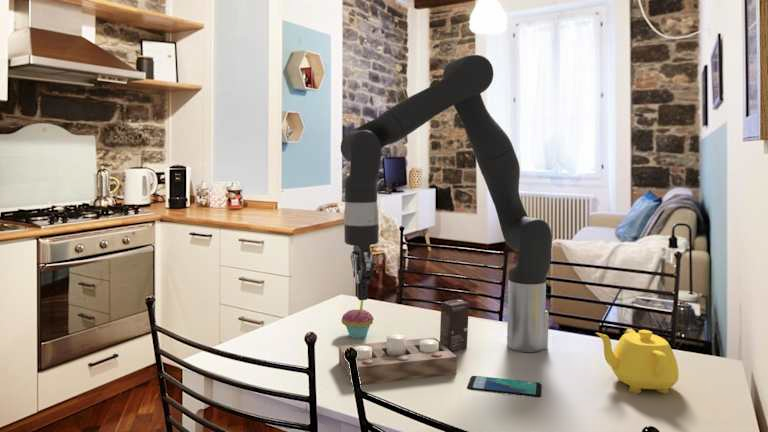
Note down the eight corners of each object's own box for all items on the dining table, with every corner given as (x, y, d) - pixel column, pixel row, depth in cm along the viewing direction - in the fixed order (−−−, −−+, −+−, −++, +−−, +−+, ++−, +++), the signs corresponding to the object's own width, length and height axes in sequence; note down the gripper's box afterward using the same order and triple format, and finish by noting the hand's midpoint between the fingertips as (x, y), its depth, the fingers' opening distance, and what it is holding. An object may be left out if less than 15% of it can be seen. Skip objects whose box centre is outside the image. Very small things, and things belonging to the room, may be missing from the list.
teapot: (620, 367, 129) (622, 317, 128) (687, 385, 119) (690, 331, 118) (593, 384, 119) (595, 330, 118) (663, 405, 109) (667, 346, 108)
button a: (434, 356, 133) (434, 338, 133) (441, 363, 129) (441, 344, 129) (417, 358, 132) (417, 340, 132) (423, 365, 128) (423, 346, 128)
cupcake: (379, 334, 154) (379, 291, 152) (361, 342, 146) (361, 297, 145) (353, 328, 158) (353, 287, 157) (335, 337, 151) (334, 293, 150)
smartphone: (471, 375, 124) (541, 382, 120) (471, 378, 124) (541, 385, 120) (466, 387, 117) (541, 395, 113) (466, 391, 117) (540, 399, 113)
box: (450, 353, 139) (451, 305, 137) (439, 347, 142) (439, 301, 141) (469, 348, 142) (469, 302, 141) (457, 343, 146) (457, 298, 144)
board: (434, 353, 139) (434, 336, 138) (456, 373, 125) (456, 355, 125) (339, 362, 132) (338, 345, 132) (351, 385, 119) (351, 366, 118)
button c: (369, 363, 129) (369, 344, 129) (374, 370, 125) (374, 351, 125) (350, 365, 128) (350, 346, 128) (354, 372, 124) (354, 353, 123)
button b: (402, 351, 131) (402, 333, 131) (408, 358, 127) (408, 339, 126) (384, 353, 130) (384, 335, 130) (389, 360, 126) (389, 341, 125)
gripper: (385, 225, 118) (386, 305, 120) (370, 218, 130) (371, 291, 132) (351, 226, 116) (352, 308, 118) (338, 219, 128) (340, 293, 130)
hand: (362, 299), depth 125 cm, fingers closed
